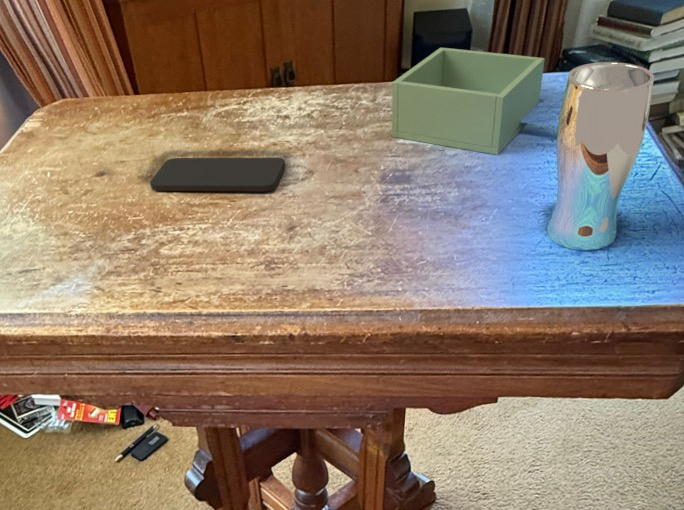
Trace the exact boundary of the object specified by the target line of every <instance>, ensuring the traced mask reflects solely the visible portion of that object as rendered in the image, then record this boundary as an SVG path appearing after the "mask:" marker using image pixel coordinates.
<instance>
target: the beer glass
mask: <svg viewBox="0 0 684 510" xmlns="http://www.w3.org/2000/svg"><path fill="white" fill-rule="evenodd" d="M654 81H655V75H654V73H653V72H652V71H651V70H649V69H647V68H645V67H643V66H640V65H637V64H631V63H626V62H616V61H615V62H614V61H603V62H601V61H600V62H591V63H587V64H582V65H578V66H576V67H574V68H572V69H571V70H570V71H569V72H568V75H567V80H566V86H565V89H564V93H563V97H562V103H561V106H560V111H559V117H558V123H557V130H556V131H557V132H556V172H557V192H556V200H555V205H554V208H553V212H552V214H551V216H550V219H549V222H548V225H547V228H546V229H547V236H548V237H549V238H550V239H551V240H552V242H554V243H555V244H556V245H559V246H561V247H563V248H567V249H571V250H575V251H576V250H577V251H596V250H597V251H598V250H601V249H604V248H607V247H609V246H610V245H612V244H613V242H615V240H616V238H617V215H618V214H617V211H618V206H619V202H620V199H621V196H622V193H623V191H624V188H625V185H626V183H627V181H628V178H629V176H630V174H631V172H632V170H633V167H634V164H635V162H636V160H637V158H638V156H639V153H640V150H641V147H642V144H643V141H644V138H645V134H646V129H647V125H648V120H649V114H650V110H651V101H652V94H653V87H654Z"/></svg>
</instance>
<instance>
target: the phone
mask: <svg viewBox="0 0 684 510" xmlns="http://www.w3.org/2000/svg"><path fill="white" fill-rule="evenodd" d="M285 168H286V161H285V159H284V158H282V157H173V158H169V159H166V161H164V162H163V164H162V165H161V166H160V168H159V169H158V170H157V172H156V173H155V174H154V176H153V177H152V179H150V182H149V183H150V184H149V185H150V188H151V189H152V191H161V192H270V191H272V190H274V189H275V188H276V187H277V186H278V184H279V181H280V179H281V178H282V175H283V173H284V170H285Z"/></svg>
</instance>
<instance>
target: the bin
mask: <svg viewBox="0 0 684 510" xmlns="http://www.w3.org/2000/svg"><path fill="white" fill-rule="evenodd" d="M545 60H546V59H545V57H537V56H529V55H518V54H509V53H497V52H489V51H480V50H479V51H478V50H468V49H461V48H460V49H459V48H452V47H451V48H449V47H439V48H438V49H436V50H435V51H433V52H432V53H431V54H430V55H428V56H427V57H425V58H424V59H422V60H421V61H420V62H418V63H417V64H416V65H414V66H413V67H411V68H410V69H409V70H407V71H406V72H405V73H403V74H402V75H400V76H399V77H397V78H396V79H394V80H393V81H392V82H391V123H392V124H391V137H393V138H398V139H404V140H410V141H416V142H421V143H426V144H433V145H438V146H444V147H450V148H455V149H461V150H468V151H473V152H479V153H484V154H489V155H496V156H498V155H499V154H500V153H501V152H503V150H504V149H505V148H506V147H507V146H508V145H509V144H510V143H511V141H512V140H513V139H514V138H515V137H516V136H517V135H518V134H520V132H521V131H522V129H524V127H526V125H527V124H528V122H521V121H522V120H523V119H524V118H525V117H527V115H528V114H529V113H530V112H531V111H532V110H533V109H534V108H535V107H536V106H537V105H538V103H540V99H541V89H542V82H543V75H544V68H545V67H544V66H545Z"/></svg>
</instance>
